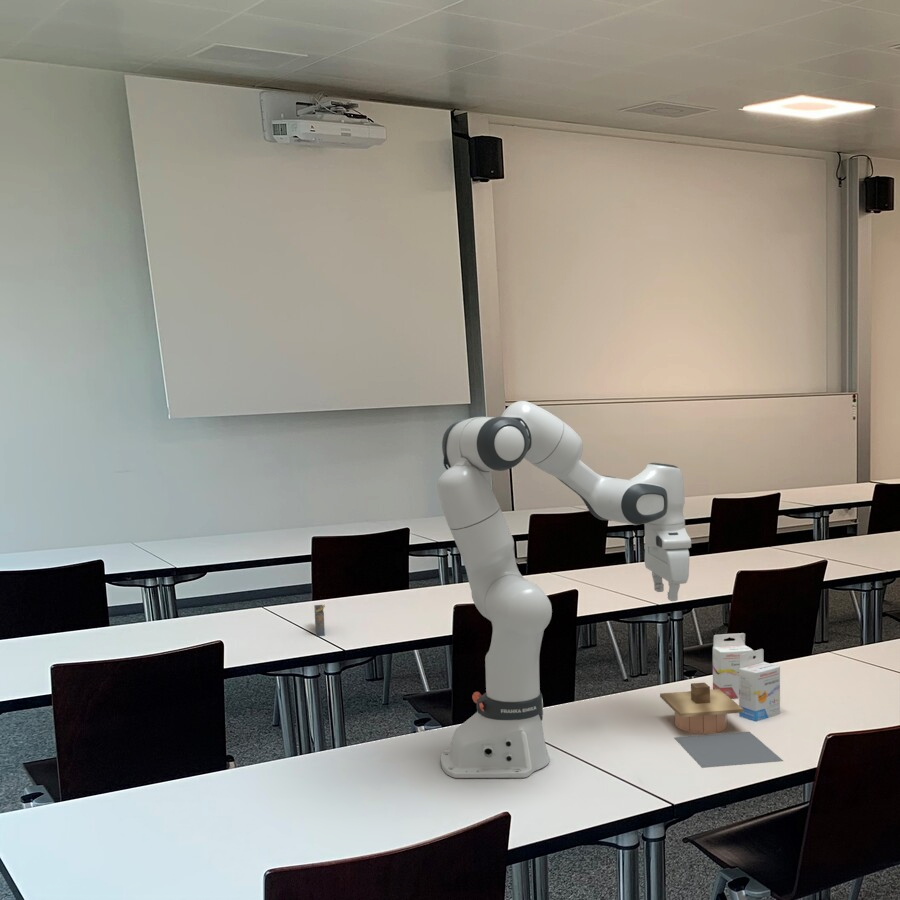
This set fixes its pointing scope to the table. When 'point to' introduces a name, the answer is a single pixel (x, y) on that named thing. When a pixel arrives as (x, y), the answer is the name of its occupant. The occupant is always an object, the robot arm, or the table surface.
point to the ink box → (758, 687)
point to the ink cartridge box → (728, 662)
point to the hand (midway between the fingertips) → (665, 595)
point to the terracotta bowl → (702, 723)
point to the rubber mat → (727, 749)
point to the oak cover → (701, 701)
